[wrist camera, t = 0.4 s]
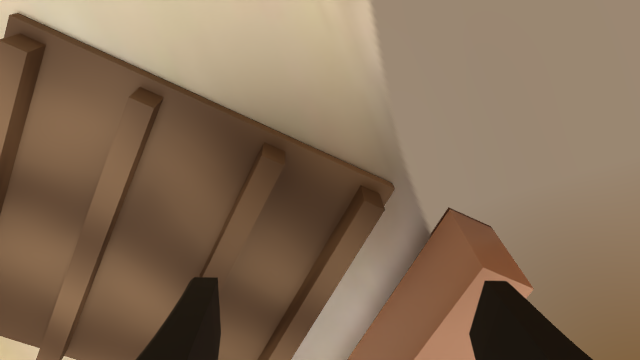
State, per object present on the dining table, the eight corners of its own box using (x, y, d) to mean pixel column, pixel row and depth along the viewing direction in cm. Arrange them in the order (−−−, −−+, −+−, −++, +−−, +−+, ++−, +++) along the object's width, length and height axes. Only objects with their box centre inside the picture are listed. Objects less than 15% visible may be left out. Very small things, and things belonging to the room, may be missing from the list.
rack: (254, 406, 29) (251, 438, 27) (-54, 308, 25) (-83, 337, 23) (392, 183, 23) (400, 204, 21) (17, 13, 19) (-14, 20, 17)
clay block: (357, 409, 30) (367, 492, 25) (320, 397, 29) (324, 479, 25) (490, 226, 25) (533, 288, 20) (448, 207, 24) (483, 267, 20)
